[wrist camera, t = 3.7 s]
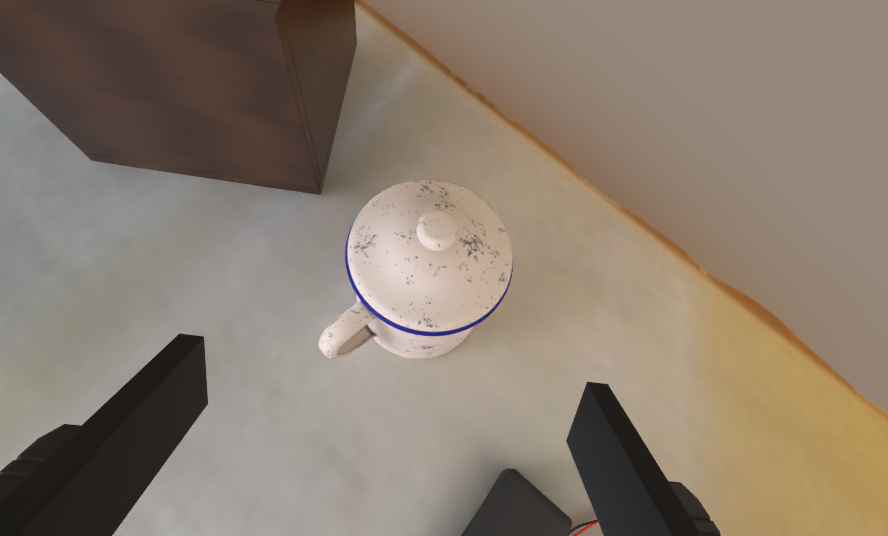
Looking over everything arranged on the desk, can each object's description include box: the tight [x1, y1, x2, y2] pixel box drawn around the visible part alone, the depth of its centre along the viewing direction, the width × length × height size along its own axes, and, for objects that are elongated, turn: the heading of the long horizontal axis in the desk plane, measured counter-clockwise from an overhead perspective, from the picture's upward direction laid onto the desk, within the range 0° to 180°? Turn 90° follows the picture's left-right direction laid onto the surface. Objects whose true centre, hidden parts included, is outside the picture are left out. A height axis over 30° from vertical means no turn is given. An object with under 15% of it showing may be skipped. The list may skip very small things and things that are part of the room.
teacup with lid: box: [319, 179, 513, 359], centre depth 24 cm, size 12×9×12 cm
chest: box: [0, 0, 357, 195], centre depth 28 cm, size 17×17×15 cm
